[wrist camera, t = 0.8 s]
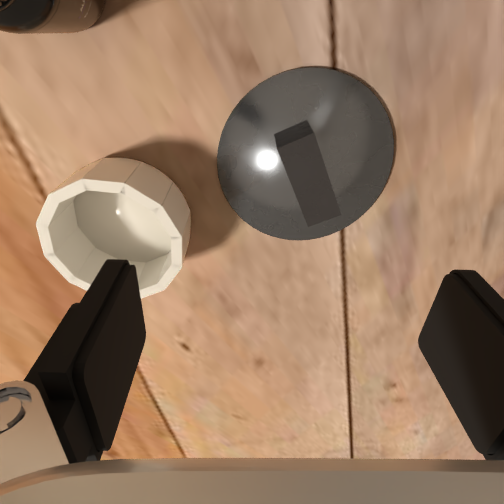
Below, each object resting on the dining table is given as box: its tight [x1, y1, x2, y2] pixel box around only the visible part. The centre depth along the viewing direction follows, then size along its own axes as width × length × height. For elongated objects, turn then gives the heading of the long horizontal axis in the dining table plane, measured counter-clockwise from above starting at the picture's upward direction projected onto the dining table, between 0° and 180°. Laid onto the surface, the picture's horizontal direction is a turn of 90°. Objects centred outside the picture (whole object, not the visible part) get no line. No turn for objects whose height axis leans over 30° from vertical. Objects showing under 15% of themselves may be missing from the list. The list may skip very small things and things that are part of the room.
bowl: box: [36, 157, 191, 298], centre depth 35 cm, size 13×13×6 cm
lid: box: [217, 67, 394, 240], centre depth 32 cm, size 17×17×5 cm
